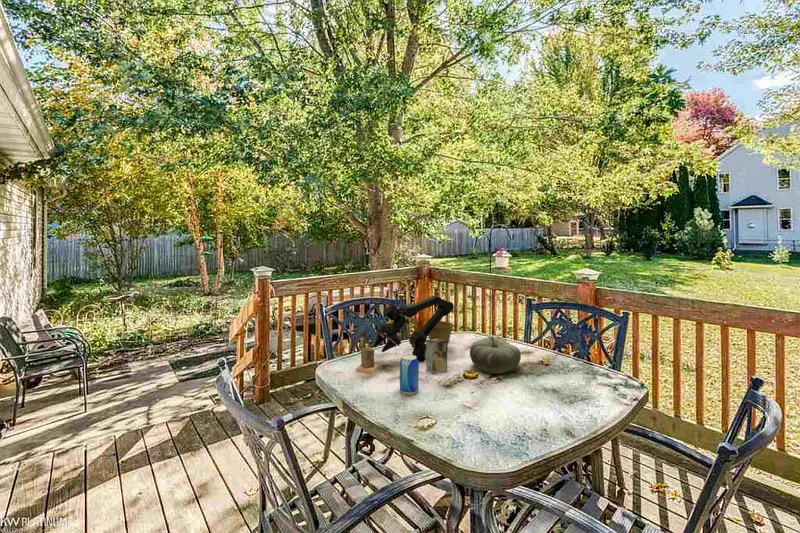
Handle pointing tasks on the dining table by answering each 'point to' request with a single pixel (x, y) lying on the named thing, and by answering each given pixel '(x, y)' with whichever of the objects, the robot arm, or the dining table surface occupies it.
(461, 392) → the dining table surface
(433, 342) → the coffee box
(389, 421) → the dining table surface
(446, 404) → the dining table surface
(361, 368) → the terracotta tile
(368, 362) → the walnut block
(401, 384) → the beer can
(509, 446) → the dining table surface
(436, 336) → the plant pot
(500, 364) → the gourd
